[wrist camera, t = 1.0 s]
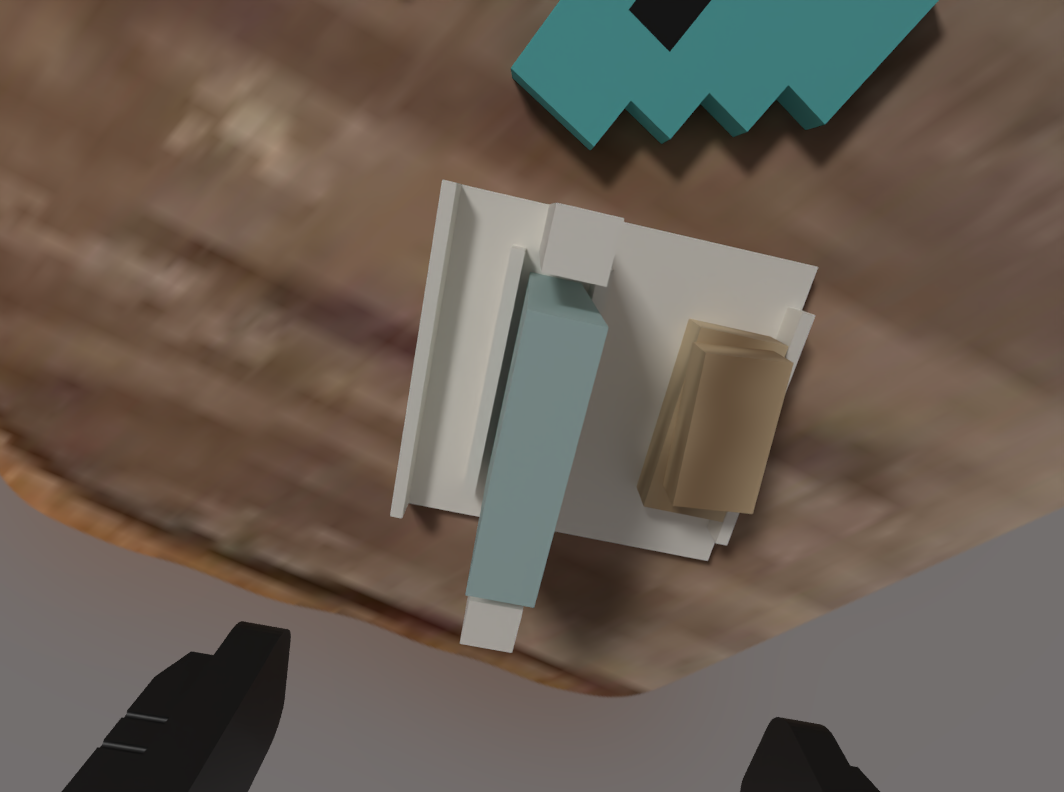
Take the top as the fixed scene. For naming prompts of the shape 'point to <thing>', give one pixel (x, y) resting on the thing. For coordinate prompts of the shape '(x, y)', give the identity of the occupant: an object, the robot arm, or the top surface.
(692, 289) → the rack
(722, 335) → the offcut low
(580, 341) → the grey-green square slab
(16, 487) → the top surface
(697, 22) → the alien figure
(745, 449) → the offcut top
